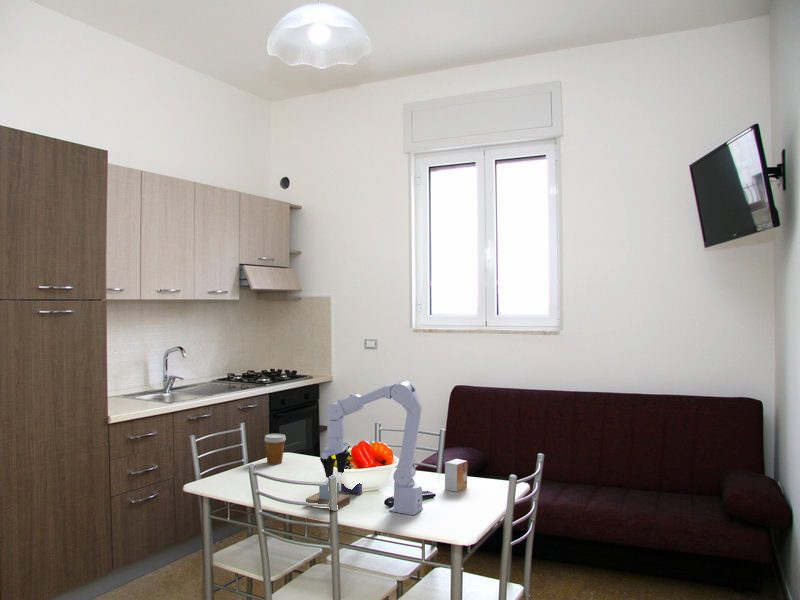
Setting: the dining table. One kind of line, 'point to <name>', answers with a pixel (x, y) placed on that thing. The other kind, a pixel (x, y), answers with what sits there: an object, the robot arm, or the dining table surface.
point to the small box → (456, 475)
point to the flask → (356, 489)
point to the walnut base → (341, 500)
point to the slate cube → (326, 491)
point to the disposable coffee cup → (274, 448)
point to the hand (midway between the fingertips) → (334, 474)
